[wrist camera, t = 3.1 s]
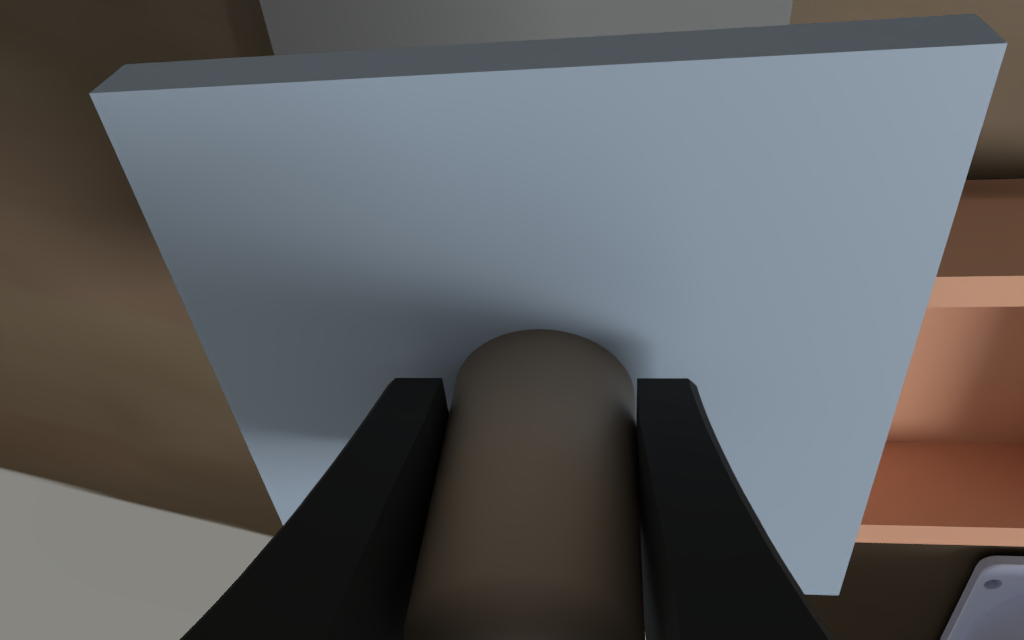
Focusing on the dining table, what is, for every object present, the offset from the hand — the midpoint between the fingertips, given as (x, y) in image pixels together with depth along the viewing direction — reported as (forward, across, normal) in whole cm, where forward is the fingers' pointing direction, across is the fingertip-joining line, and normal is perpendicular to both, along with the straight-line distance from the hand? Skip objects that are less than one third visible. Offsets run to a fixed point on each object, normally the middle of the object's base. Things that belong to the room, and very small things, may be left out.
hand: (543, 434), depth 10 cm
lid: (+1, 0, 0) cm, 1 cm away
